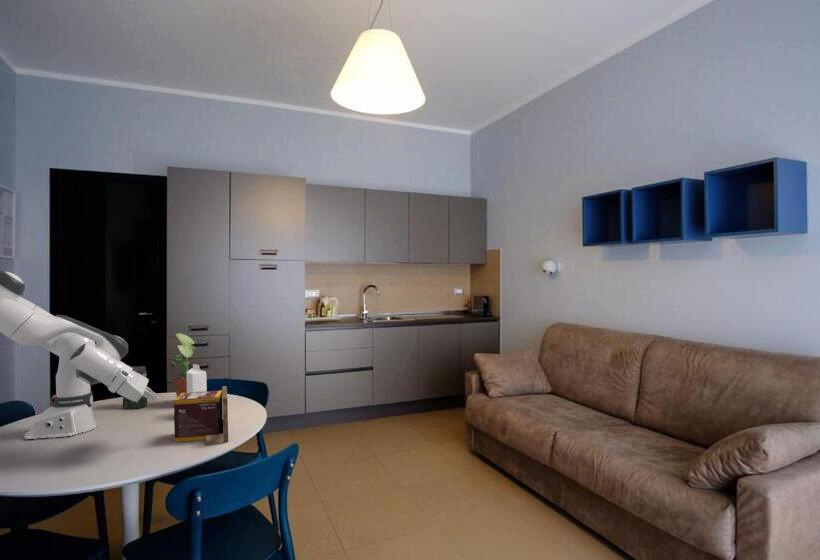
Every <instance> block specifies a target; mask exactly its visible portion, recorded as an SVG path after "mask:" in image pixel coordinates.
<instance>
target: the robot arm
mask: <svg viewBox="0 0 820 560" xmlns="http://www.w3.org/2000/svg"><path fill="white" fill-rule="evenodd" d="M25 290H26V284H25V283H24V282H23V279H21V277H20V276H18V275H17V274H16V273H13V272H9V271H5V270H0V333H1V334H3V335H4V336H6V337H8V338H9V339H11V340H12V341H15V342H16V343H18V344H21V345H24V346H25V347H26V346H28V347H33V346H38V345H39V346H40V347H42V348H44V349H46V350H48V352H51V353H53V354H54V355H56V356H58V358H59V359H58V360H59V361H58V367H57V372H56V374H55V389H56V390H55V392H56V394H54V395H53V396H52V397H51V398H50V400H49V404H50V406H49V407H47V409H46V410H44V411H43V412H41V413H40V414H39V415H38V416H37V417H35V418H34V421H33V423H32V426H31V429H30V430H29V431H27V432H26V433H25V434H24V438H42V437H64V436H71V437H73V436H72V435H74V436H76V435H79V434H82V432H83V433H87V432H89V431H91V430H93V429H94V430H95V428H96V427H97V423H96V420H95V417H94V411H93V405H94V403H93V401H94V397H93V396H94V395H93V391H92V390H91V385H96V384H99V383H101V384H104V385H105V386H106V387H107V389H108V390H109V391H110V392H111V393H113V394H115V393H117V394H118V395H120V396H121V397H122V398H123V397H125V398H127V399H129V400H131V401H135V402H137V401H138V400H139V399H140V398H141V397H142V396H143V397H146V398H147V399H150V400H151V401H154V400H155V399H156V398H157V395H158V394H157V393H156V392H154V391H153V390H152V389H151V388H150V387H148V383H149V382H150V380H149V378H147V376H146V377H144V376H142V375H141V374H139V373H137V372H135V371H132V369H133V368H131V367H132V366H130V365H127V364H126V363H125V362H123V361H121V360H123V358H125V357H126V356H127V354H129V343H128V342H127V341H126V340H125V339H123V338H122V337H120V336H118V335H115V334H114V335H113V334H111V333H109V332H106V331H103V330H100V329H99V328H96V327H93V326H92V325H89V324H88V323H84V322H82V321H80V320H77V319H75V318H73V317H69V316H67V315H62V314H56V315H53V314H51V313H50V312H49V311H47V310H45V309H44V308H41V307H40V306H38V305H37V304H35V303H33V302H32V301H30V300H28V299H25V298H23V296H24V294H25V293H24V292H25ZM21 296H22V297H21ZM78 433H79V434H78ZM75 434H76V435H75ZM64 438H65V437H64Z"/></svg>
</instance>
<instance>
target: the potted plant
mask: <svg viewBox="0 0 820 560" xmlns="http://www.w3.org/2000/svg"><path fill="white" fill-rule="evenodd" d="M175 336H176V338H178V339H177V340H179V342H180V343H181V345H179V344H177V348H178V350H179V352H180V354H175V355H174V356H173V359H172V360H173V361H171V362H170V366H171V368H174V367H175V365H176V366H177V367H178V368H179V370H180V371H181V374H177V375H173V376H172V385H174V387H175V393H176V398H177V397H178V396H179V395H180V394H181V393H187V376H186V372H187V371H189V365H190V363H191V361H188V358H191V357H192V356H193V355H195V353H194V350H196V347H195V346H194V344H195V341H194V340H193V338H192V337H190V336H188V335H186V334H183V333H181V332H180V333H175Z"/></svg>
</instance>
